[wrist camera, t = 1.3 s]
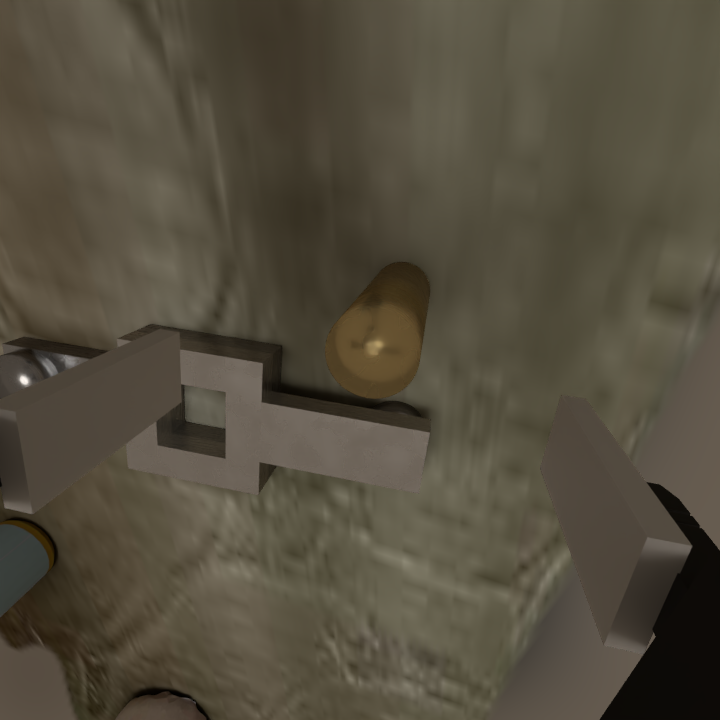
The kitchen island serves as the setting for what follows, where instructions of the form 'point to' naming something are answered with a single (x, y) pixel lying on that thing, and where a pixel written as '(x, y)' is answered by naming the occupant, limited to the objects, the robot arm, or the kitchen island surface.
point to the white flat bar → (247, 419)
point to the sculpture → (160, 708)
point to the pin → (381, 334)
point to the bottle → (22, 560)
